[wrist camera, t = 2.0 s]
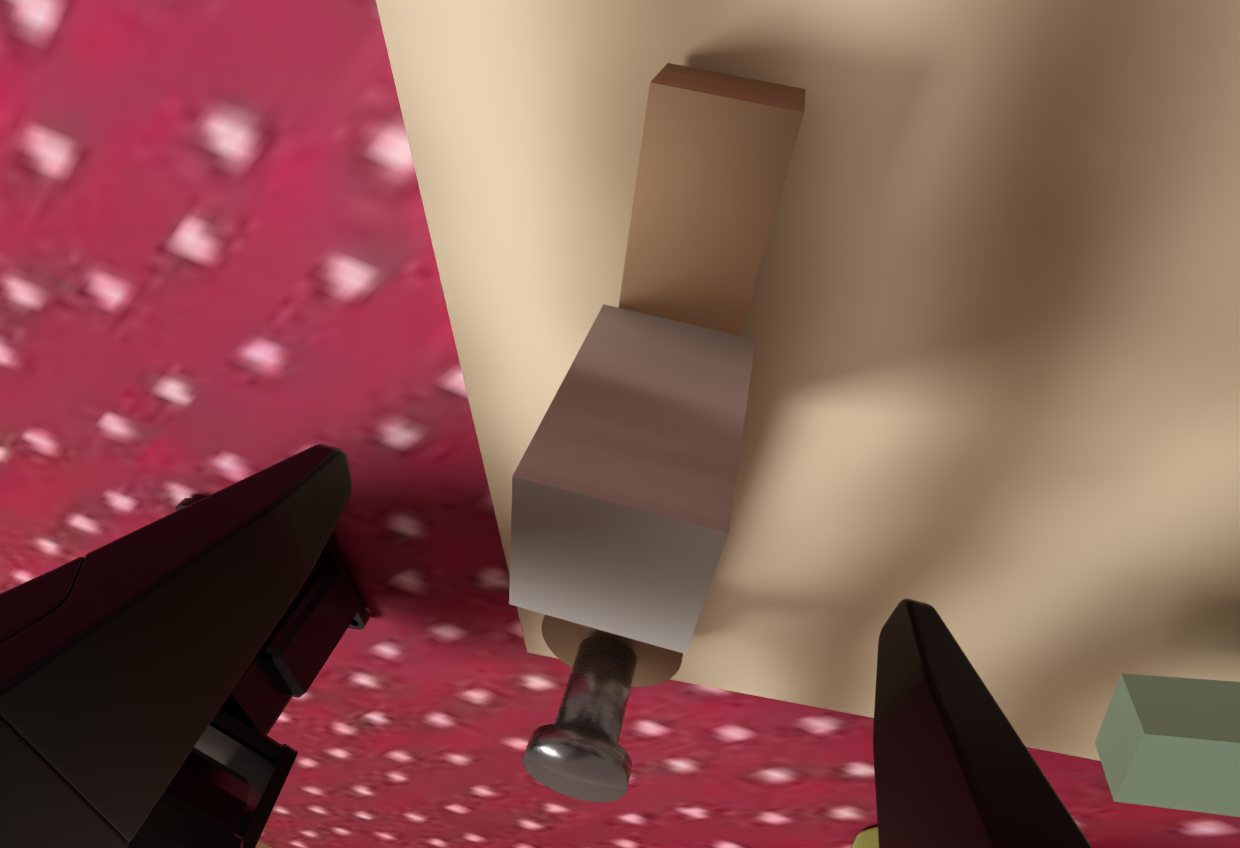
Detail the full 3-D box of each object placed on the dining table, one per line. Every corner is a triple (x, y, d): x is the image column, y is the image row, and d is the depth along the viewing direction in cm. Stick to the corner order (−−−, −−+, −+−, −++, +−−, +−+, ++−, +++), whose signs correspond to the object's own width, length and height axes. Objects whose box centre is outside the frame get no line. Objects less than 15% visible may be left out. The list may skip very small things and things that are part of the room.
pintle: (568, 671, 21) (530, 787, 18) (558, 618, 19) (515, 737, 16) (654, 688, 20) (628, 810, 18) (653, 634, 19) (624, 761, 16)
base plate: (537, 625, 26) (527, 652, 25) (406, -8, 13) (375, -1, 12) (1249, 753, 21) (1269, 792, 20) (2185, -69, 8) (2359, -65, 7)
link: (676, 657, 22) (635, 876, 17) (553, 622, 23) (478, 826, 18) (864, 100, 11) (904, 267, 6) (612, 51, 11) (451, 170, 6)
